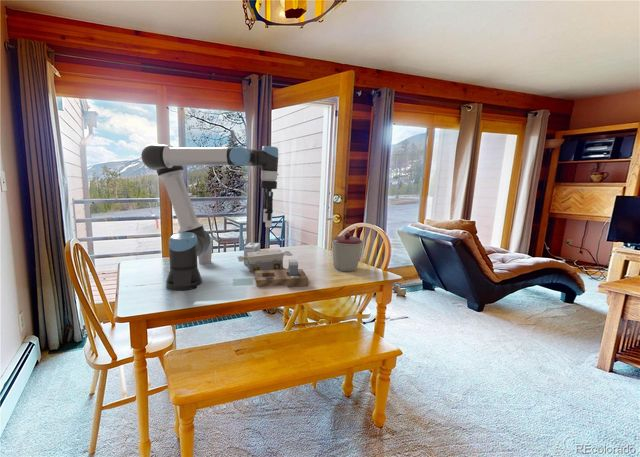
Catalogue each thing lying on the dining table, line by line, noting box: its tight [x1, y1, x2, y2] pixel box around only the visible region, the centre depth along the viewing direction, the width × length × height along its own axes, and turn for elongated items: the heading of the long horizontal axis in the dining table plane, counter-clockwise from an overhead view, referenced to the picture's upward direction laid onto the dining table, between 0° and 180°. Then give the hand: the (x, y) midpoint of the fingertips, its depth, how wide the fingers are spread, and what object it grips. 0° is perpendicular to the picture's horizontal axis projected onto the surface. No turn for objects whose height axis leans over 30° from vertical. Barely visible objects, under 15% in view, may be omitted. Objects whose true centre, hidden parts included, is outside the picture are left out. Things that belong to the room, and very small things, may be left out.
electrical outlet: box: [236, 248, 294, 273], centre depth 175 cm, size 12×28×10 cm, turn 110°
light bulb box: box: [243, 242, 261, 266], centre depth 187 cm, size 11×7×11 cm, turn 175°
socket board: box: [254, 268, 309, 288], centre depth 158 cm, size 24×14×4 cm, turn 104°
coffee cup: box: [197, 235, 214, 265], centre depth 183 cm, size 10×10×15 cm
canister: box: [330, 232, 364, 272], centre depth 183 cm, size 18×18×21 cm
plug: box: [287, 259, 299, 276], centre depth 159 cm, size 4×4×10 cm
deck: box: [232, 277, 254, 287], centre depth 154 cm, size 9×9×1 cm
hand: (267, 224), depth 157 cm, fingers open, 13 cm apart
